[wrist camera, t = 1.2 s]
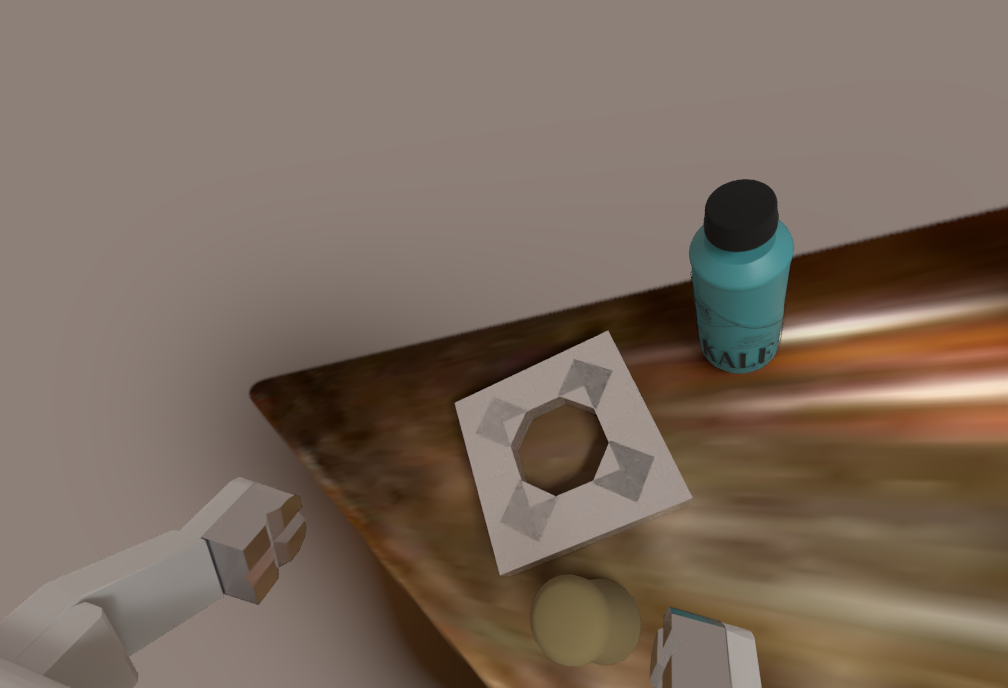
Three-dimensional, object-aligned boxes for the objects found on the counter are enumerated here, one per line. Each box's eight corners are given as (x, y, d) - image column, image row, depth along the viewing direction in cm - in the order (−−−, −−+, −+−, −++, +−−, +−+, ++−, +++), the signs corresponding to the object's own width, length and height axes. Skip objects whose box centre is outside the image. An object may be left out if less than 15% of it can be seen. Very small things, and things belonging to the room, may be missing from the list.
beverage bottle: (744, 306, 48) (748, 140, 31) (797, 357, 44) (833, 198, 28) (684, 344, 48) (657, 200, 32) (731, 398, 44) (728, 267, 28)
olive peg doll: (549, 623, 42) (498, 622, 33) (594, 561, 43) (556, 544, 34) (609, 685, 38) (570, 702, 29) (656, 617, 39) (632, 614, 30)
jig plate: (612, 339, 51) (608, 330, 50) (694, 502, 42) (692, 497, 40) (463, 409, 54) (454, 402, 52) (508, 577, 45) (499, 575, 43)
